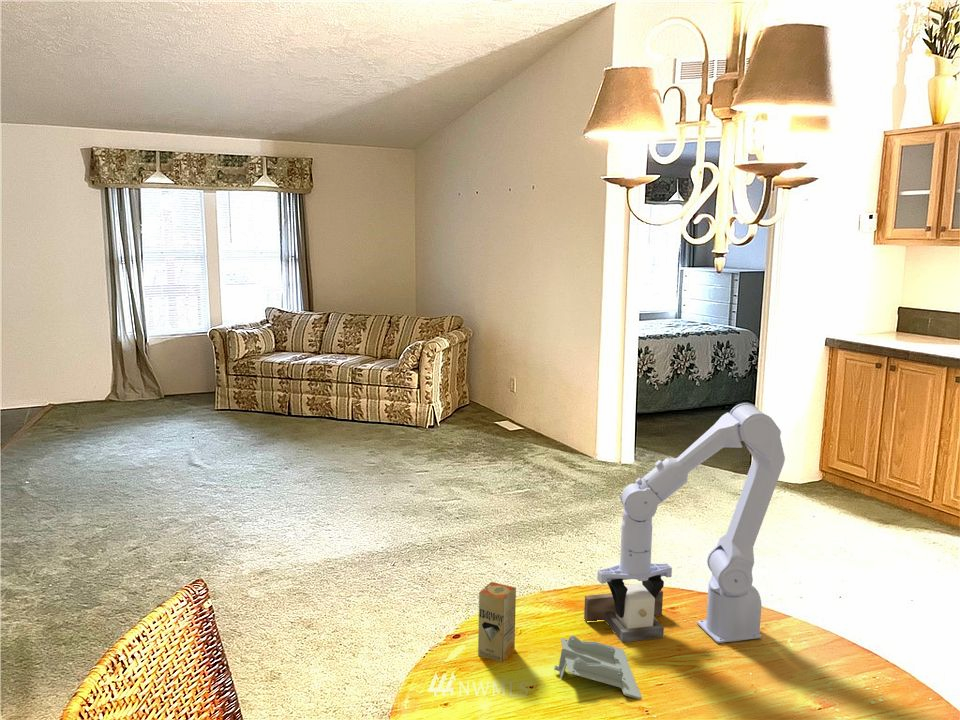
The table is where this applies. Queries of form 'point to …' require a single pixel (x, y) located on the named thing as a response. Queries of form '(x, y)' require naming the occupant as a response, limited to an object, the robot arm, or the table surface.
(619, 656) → the metal bracket
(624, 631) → the board
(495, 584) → the shoe polish box
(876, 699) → the table surface
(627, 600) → the cabinet block
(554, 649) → the table surface
